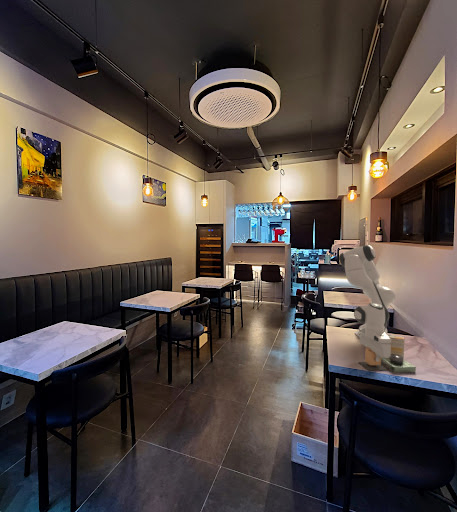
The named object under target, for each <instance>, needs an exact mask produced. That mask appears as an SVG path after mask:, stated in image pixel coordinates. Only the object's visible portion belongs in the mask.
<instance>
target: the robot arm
mask: <svg viewBox="0 0 457 512" xmlns="http://www.w3.org/2000/svg"><path fill="white" fill-rule="evenodd" d="M375 258H376V250H375V248H373V246H372V245H370V244H367V245H366V244H364V245H362V246H357V247H355V248H351V249H349V250H347V251H344V252H342V253H340V254H339V256H338V262H339V264H340V265H341V266H342V267H343V268H344V271H345V276H346V279H347V282H348V283H349V284H350V285H351V286H353V287H356V288H358V289H362V292H363V295H364V296H366V297H367V298H368V299H370V301H371V303H368V304H366V305H359V306H357V307H355V309H354V313H353V316H354V319H355V320H356V321H357V322H358V323H362V325H360V326H359V327H358V331H354V334H355V336H357V337H358V338H359V342H360V344H361V345H362V346H364V347H365V348H366V347H368V348H370V349H371V351H373V352H374V353H376V355H377V356H376V357H374V360H375V361H376V362H379V358H380V357H382V358H389V357H390V354H391V346H390V344H389V343H391V339H390V338H389V337H388V336H387V335H388V329H387V325H388V321H389V319H390V313H389V311H388V309H389V307H390V305H391V304H392V303H394V302H395V300H396V298H397V296H396V295H397V294H396V292H395V291H394V290H393V289H392V288H390V287H386V286H383V285H381V283H380V278H381V277H380V272H379V271H378V269H377V267H376V264H375V263H374V261H373V260H375Z"/></svg>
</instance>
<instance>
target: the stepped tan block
mask: <svg viewBox="0 0 457 512" xmlns="http://www.w3.org/2000/svg"><path fill="white" fill-rule="evenodd" d="M376 356H377V355H376V353H374V352H373V351H371V349H370V348H368V347H365V354H364V362H366V363H368V364H369V365H382V364H381V357H380V358H379V362H376V361H375V360H374V357H376Z"/></svg>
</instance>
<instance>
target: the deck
mask: <svg viewBox="0 0 457 512" xmlns="http://www.w3.org/2000/svg"><path fill="white" fill-rule="evenodd" d="M381 365H383V366H384V367H385V368H387V369H388V371H390V372H392V373H394V374H401V373H403V374H405V373H407V374H408V373H411V374H412V373H416V370H417V368H416V367H417V366H415V365H414V364H412V363H410V362H408V361H407V360H405V358H404V359H403V357H402V356H401V355H398V354H390V357H389V358H382V357H381Z"/></svg>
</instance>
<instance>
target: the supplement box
mask: <svg viewBox="0 0 457 512" xmlns="http://www.w3.org/2000/svg"><path fill="white" fill-rule="evenodd" d="M387 336H388V337H389V338H390V339H391V343H389V344H390V346H391V354H398V355H401V356H402V357H403V359H404V360H405V358H404V357H405V341H406V340H405V337H403V336H402V335H395V334H393V335H392V334H387Z"/></svg>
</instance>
